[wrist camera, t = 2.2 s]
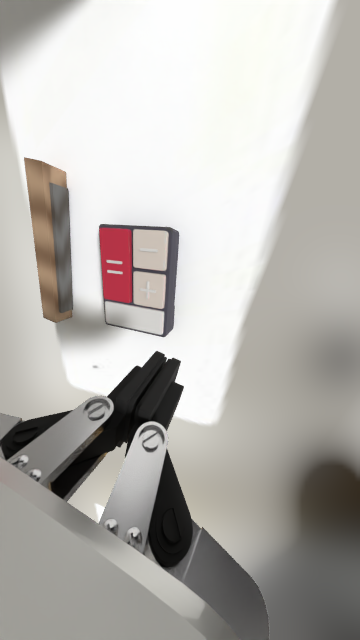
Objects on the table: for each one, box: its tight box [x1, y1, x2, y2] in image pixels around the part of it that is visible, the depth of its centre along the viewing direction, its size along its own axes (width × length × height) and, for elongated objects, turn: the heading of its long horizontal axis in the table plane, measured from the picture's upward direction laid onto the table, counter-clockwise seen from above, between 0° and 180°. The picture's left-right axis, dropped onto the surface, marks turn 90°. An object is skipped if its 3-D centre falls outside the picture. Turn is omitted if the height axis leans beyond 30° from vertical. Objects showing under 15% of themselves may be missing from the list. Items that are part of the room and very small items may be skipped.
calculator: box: [99, 224, 179, 337], centre depth 26 cm, size 11×4×15 cm
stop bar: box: [24, 158, 73, 323], centre depth 29 cm, size 24×4×4 cm, turn 166°
